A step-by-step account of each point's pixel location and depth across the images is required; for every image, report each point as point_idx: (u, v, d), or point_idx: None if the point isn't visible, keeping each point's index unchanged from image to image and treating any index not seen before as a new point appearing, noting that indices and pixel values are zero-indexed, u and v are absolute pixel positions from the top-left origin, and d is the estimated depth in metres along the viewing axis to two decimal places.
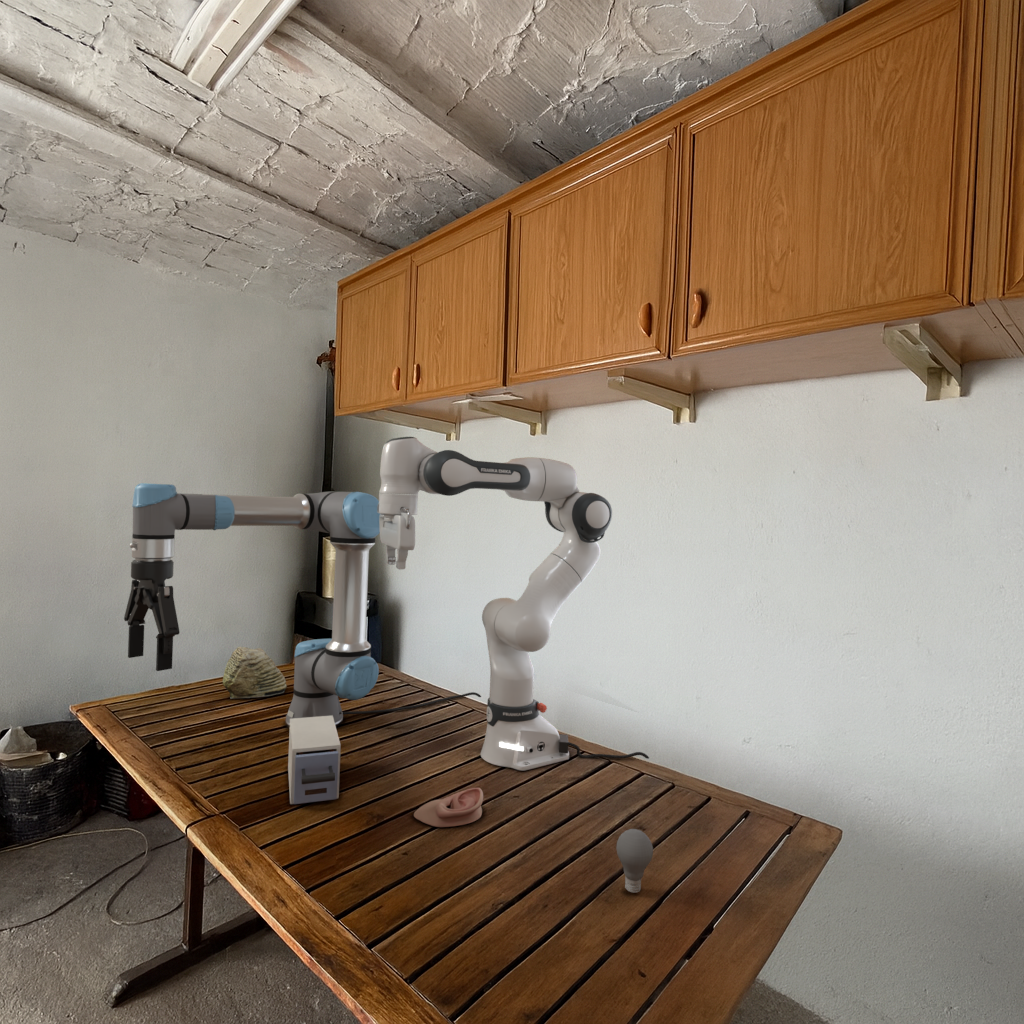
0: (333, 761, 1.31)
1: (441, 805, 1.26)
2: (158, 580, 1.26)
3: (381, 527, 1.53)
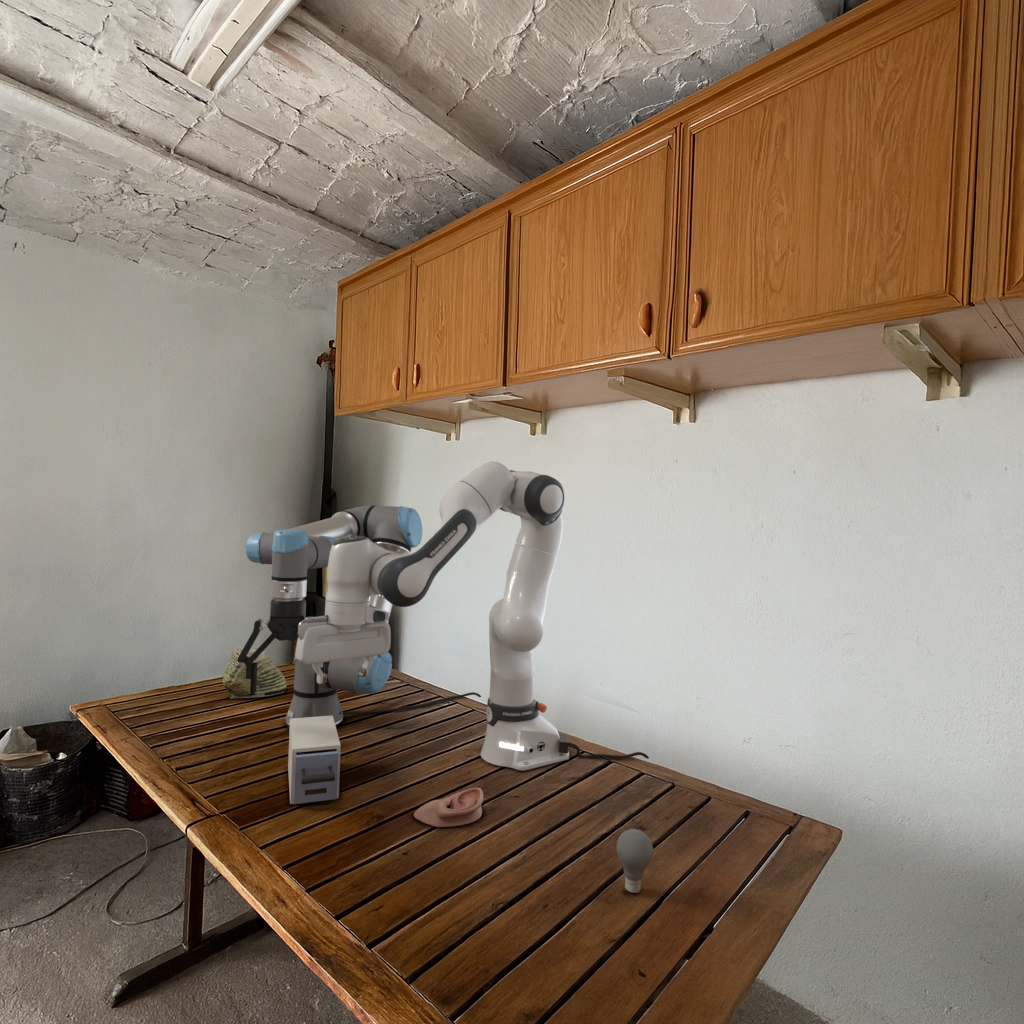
0: (333, 761, 1.31)
1: (441, 805, 1.26)
2: (305, 616, 1.42)
3: None
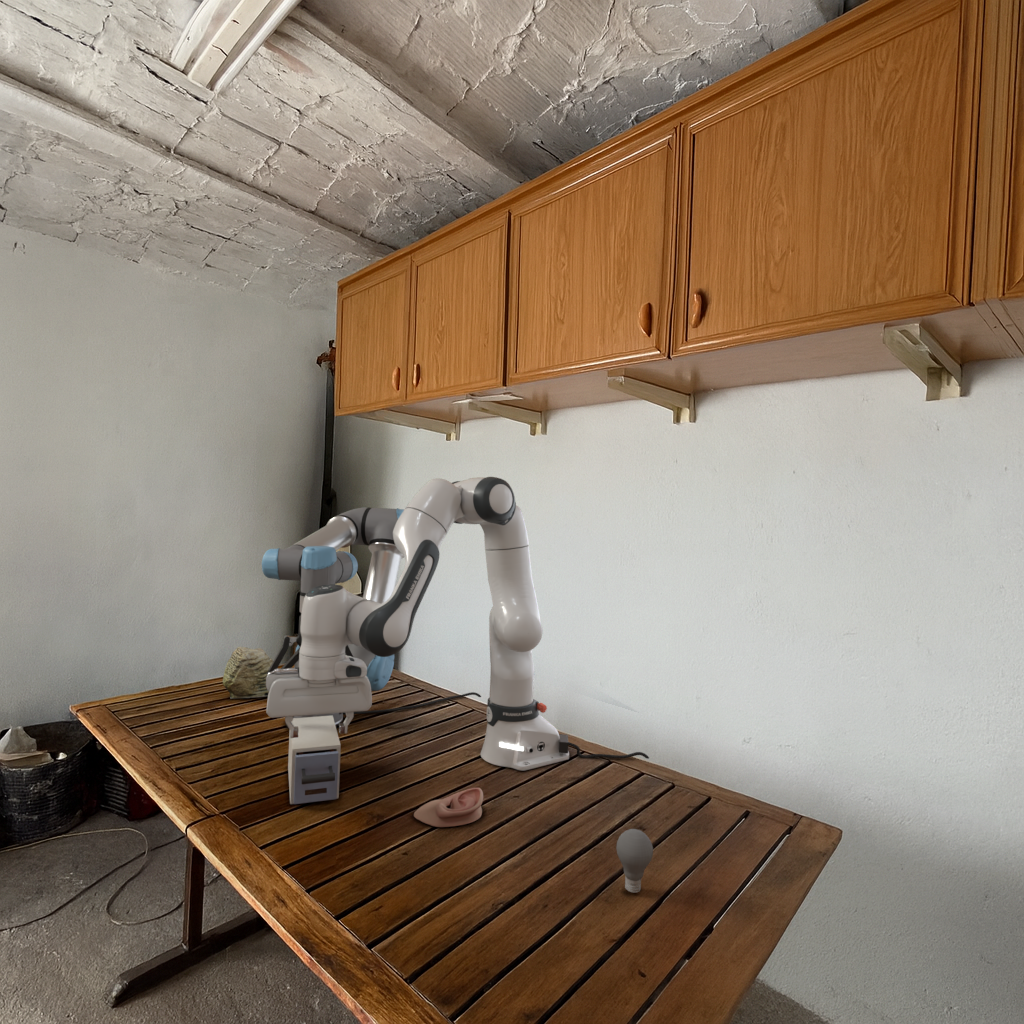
0: (333, 761, 1.31)
1: (441, 805, 1.26)
2: None
3: None
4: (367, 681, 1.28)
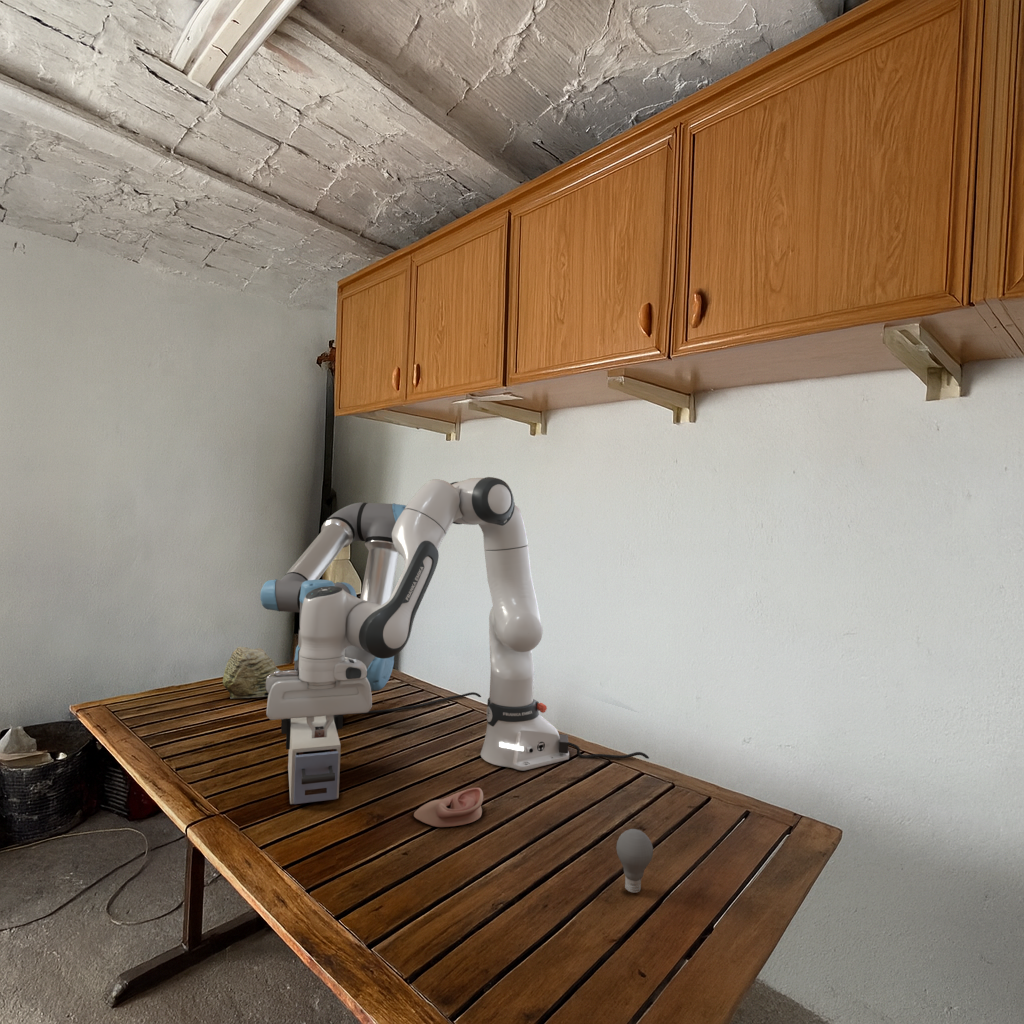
0: (333, 761, 1.31)
1: (441, 805, 1.26)
2: None
3: None
4: (367, 683, 1.28)
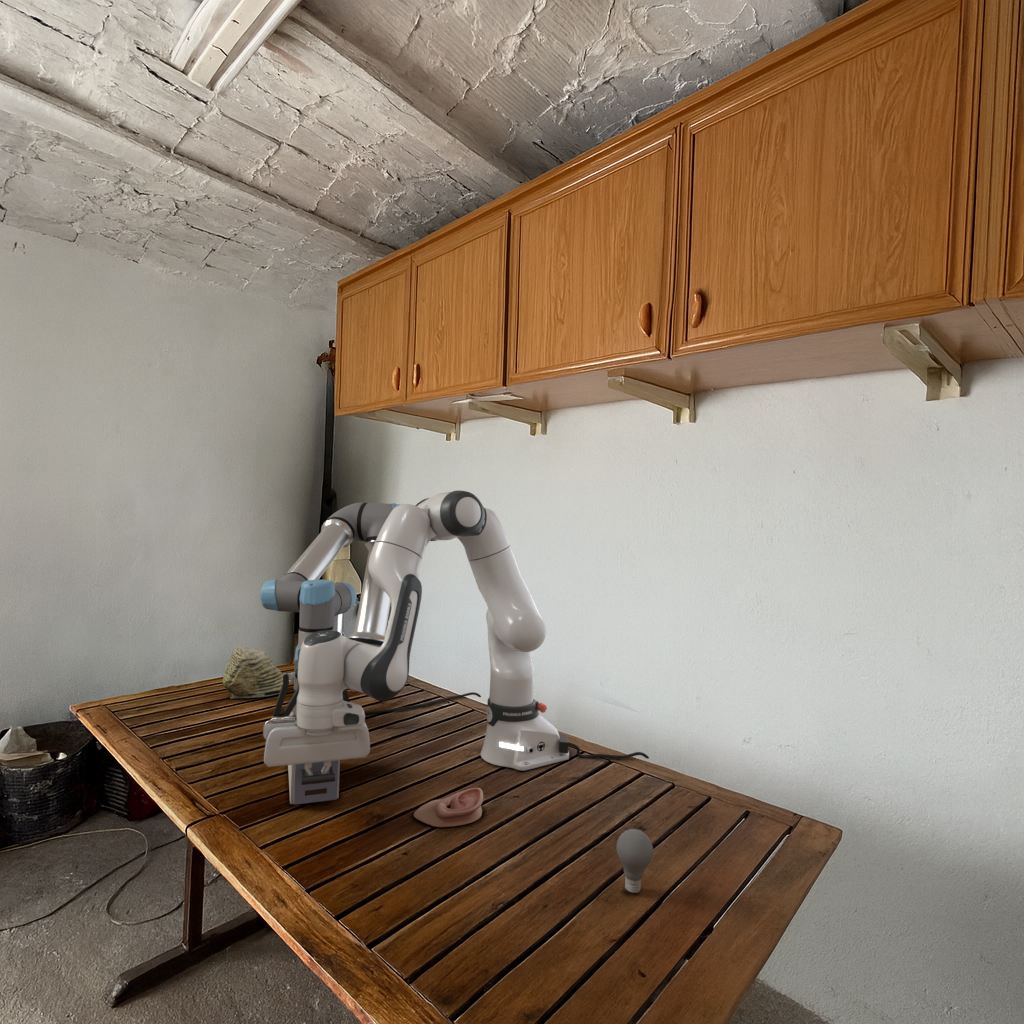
0: (333, 761, 1.31)
1: (441, 805, 1.26)
2: None
3: None
4: (365, 728, 1.27)
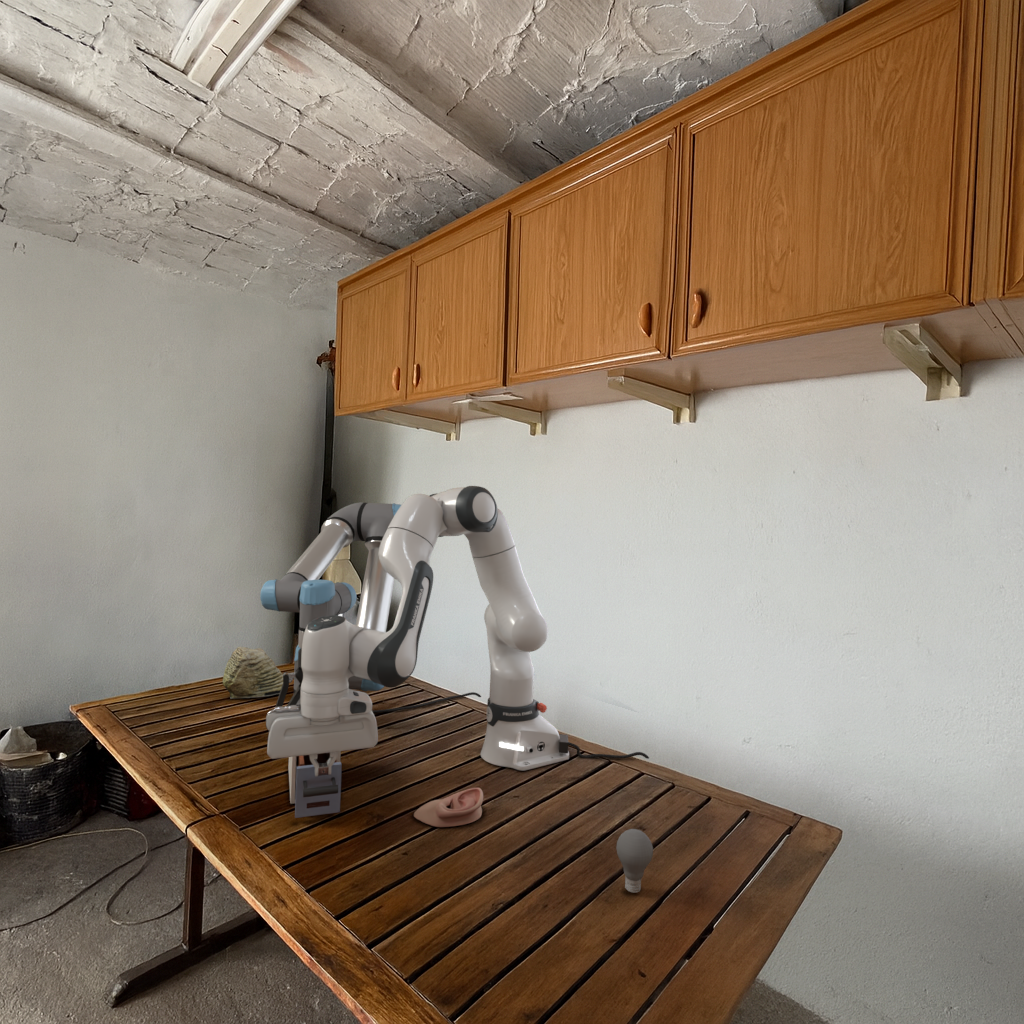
0: (336, 772, 1.25)
1: (441, 805, 1.26)
2: None
3: None
4: (372, 717, 1.22)
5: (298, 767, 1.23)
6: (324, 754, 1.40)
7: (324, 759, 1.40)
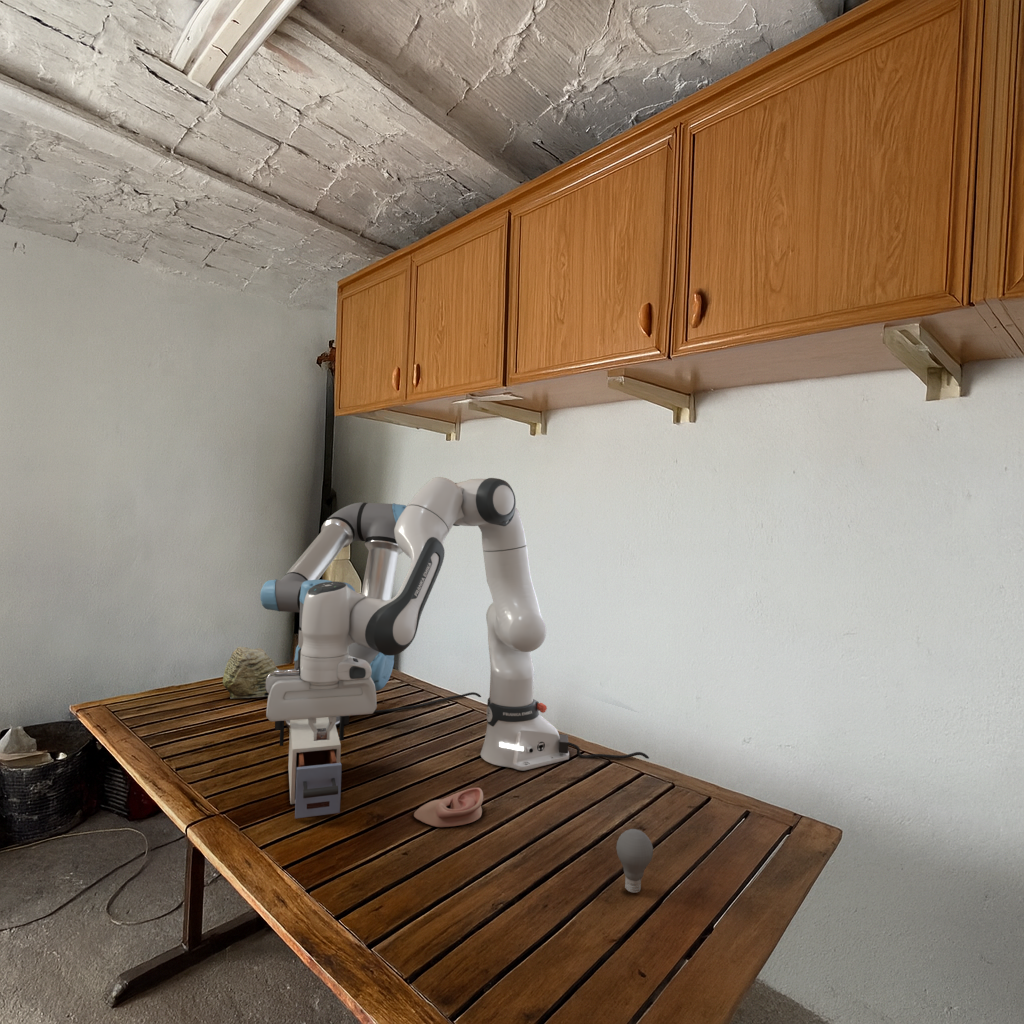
0: (336, 773, 1.25)
1: (441, 805, 1.26)
2: None
3: None
4: (371, 683, 1.22)
5: (298, 768, 1.23)
6: (324, 754, 1.40)
7: (324, 759, 1.40)
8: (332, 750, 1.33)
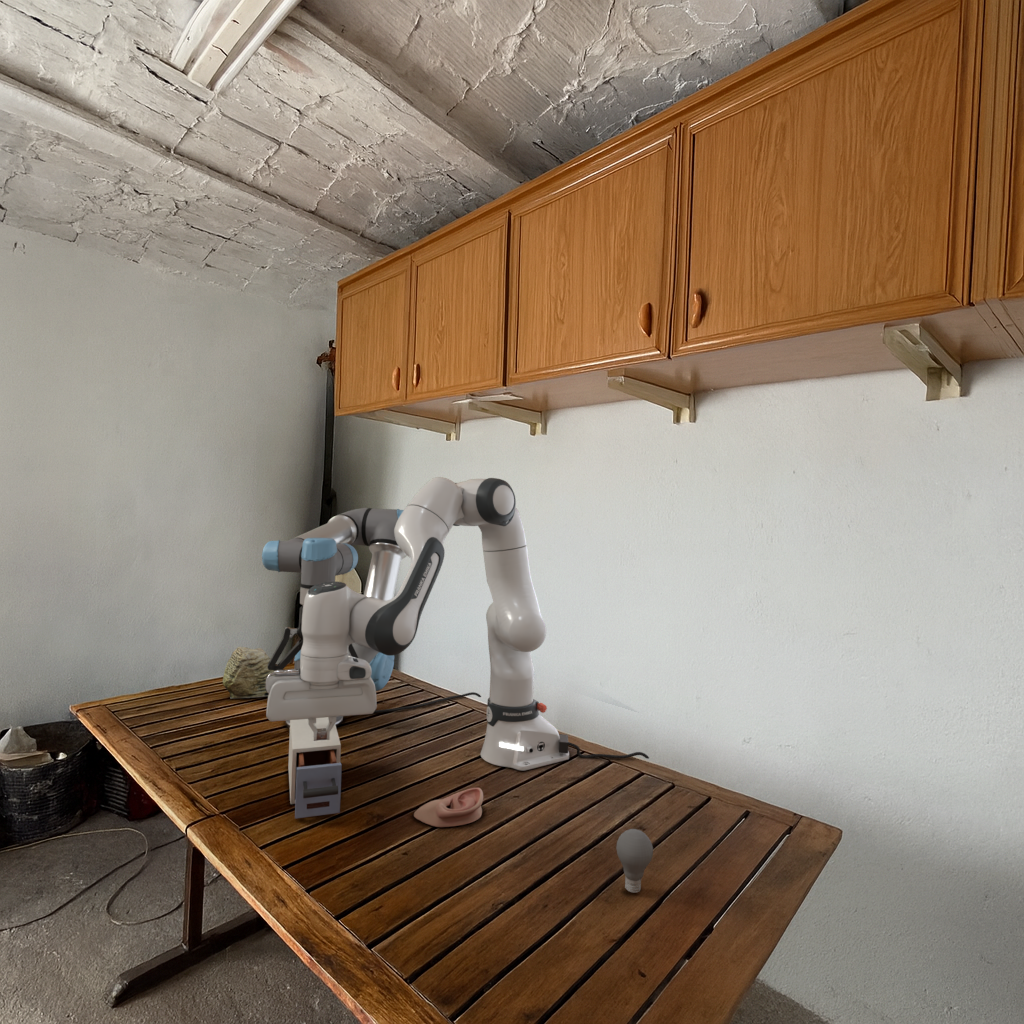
0: (336, 773, 1.25)
1: (441, 805, 1.26)
2: None
3: None
4: (371, 683, 1.22)
5: (298, 768, 1.23)
6: (324, 754, 1.40)
7: (324, 759, 1.40)
8: (332, 750, 1.33)
